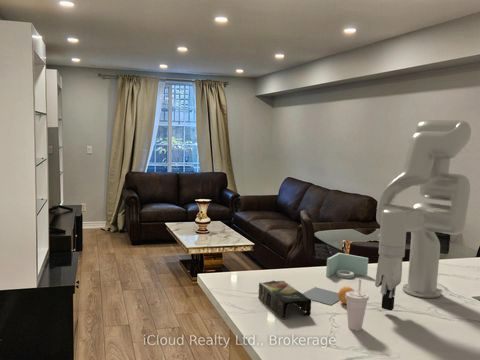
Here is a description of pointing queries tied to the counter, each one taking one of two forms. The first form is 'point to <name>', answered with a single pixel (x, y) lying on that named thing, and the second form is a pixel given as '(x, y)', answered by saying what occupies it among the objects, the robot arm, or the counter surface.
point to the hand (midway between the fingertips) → (387, 308)
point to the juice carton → (282, 297)
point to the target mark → (322, 295)
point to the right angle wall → (346, 265)
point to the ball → (343, 293)
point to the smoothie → (356, 308)
